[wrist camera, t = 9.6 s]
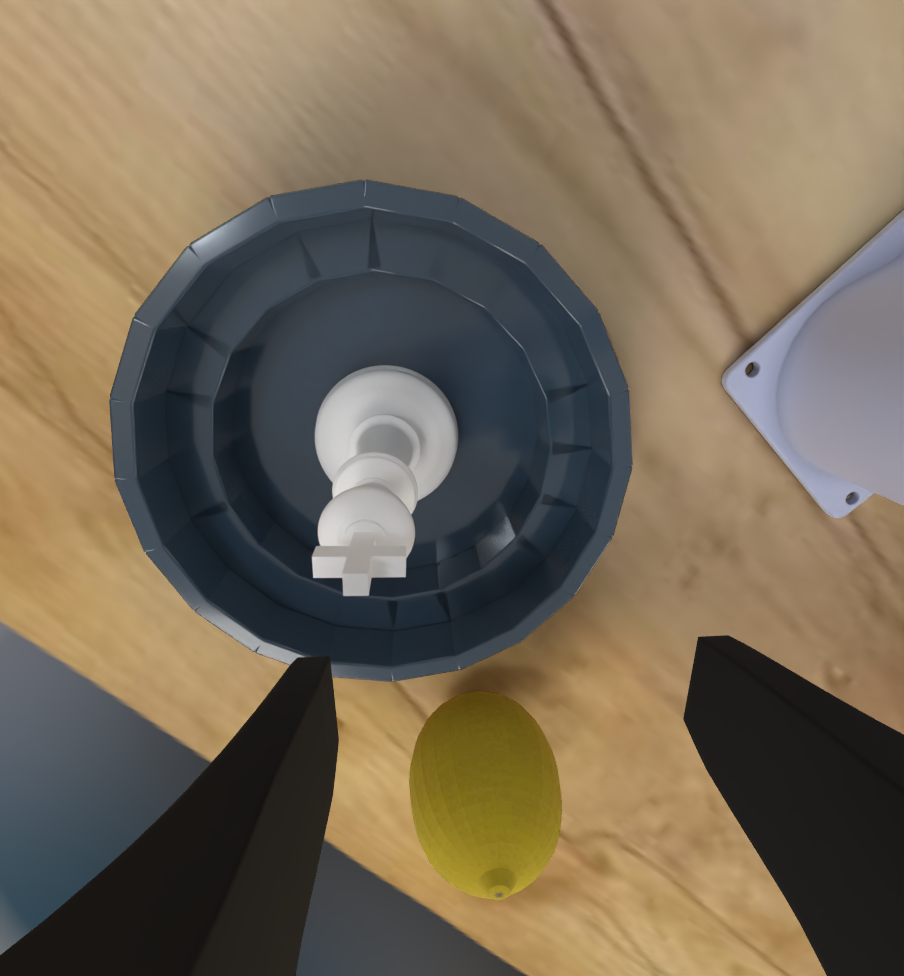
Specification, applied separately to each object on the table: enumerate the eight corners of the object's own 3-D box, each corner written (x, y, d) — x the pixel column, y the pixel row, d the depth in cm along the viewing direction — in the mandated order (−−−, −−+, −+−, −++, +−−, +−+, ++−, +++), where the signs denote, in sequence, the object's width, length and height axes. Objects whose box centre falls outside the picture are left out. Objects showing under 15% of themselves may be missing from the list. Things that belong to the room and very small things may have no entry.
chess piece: (310, 363, 17) (186, 444, 8) (460, 366, 18) (506, 447, 8) (320, 502, 19) (226, 703, 10) (456, 502, 19) (491, 697, 10)
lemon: (385, 713, 23) (370, 910, 16) (467, 629, 22) (492, 801, 15) (479, 769, 25) (505, 974, 17) (560, 693, 24) (627, 880, 16)
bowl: (372, 99, 16) (355, 25, 11) (661, 426, 20) (730, 464, 15) (100, 438, 18) (3, 482, 14) (400, 662, 22) (395, 750, 18)
